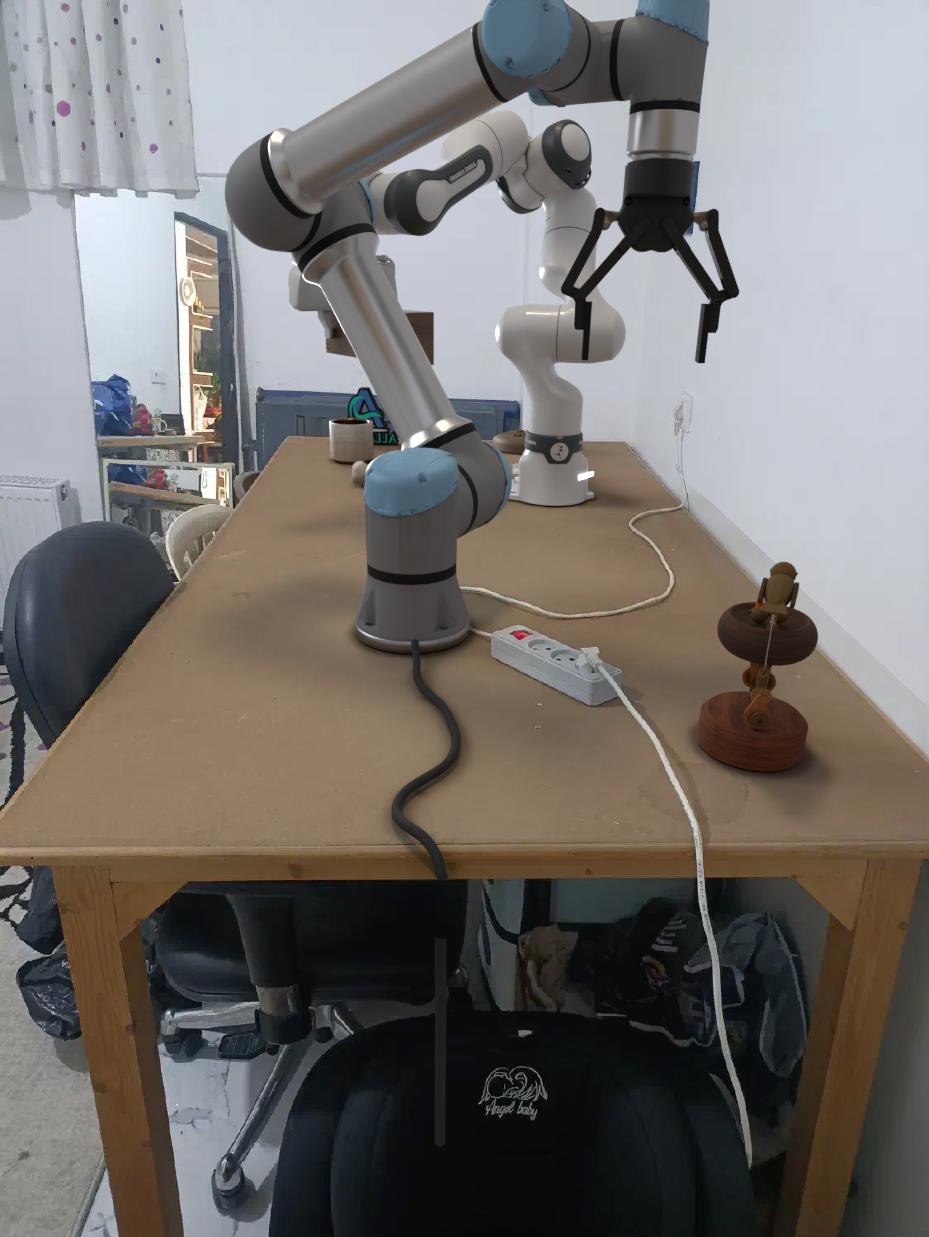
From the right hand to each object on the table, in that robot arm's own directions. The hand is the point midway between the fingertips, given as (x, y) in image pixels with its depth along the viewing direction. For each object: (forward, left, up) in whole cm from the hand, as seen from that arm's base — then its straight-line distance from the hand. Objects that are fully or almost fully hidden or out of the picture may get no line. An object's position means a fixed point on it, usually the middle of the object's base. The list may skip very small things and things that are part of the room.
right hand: (346, 338), depth 151 cm
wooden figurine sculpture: (+88, +42, -33) cm, 103 cm away
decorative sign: (-77, +2, -33) cm, 84 cm away
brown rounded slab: (-62, +47, -33) cm, 85 cm away
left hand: (+58, +36, +2) cm, 68 cm away
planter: (-55, -1, -33) cm, 64 cm away
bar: (+9, +5, -3) cm, 11 cm away
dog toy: (-28, +9, -33) cm, 45 cm away
